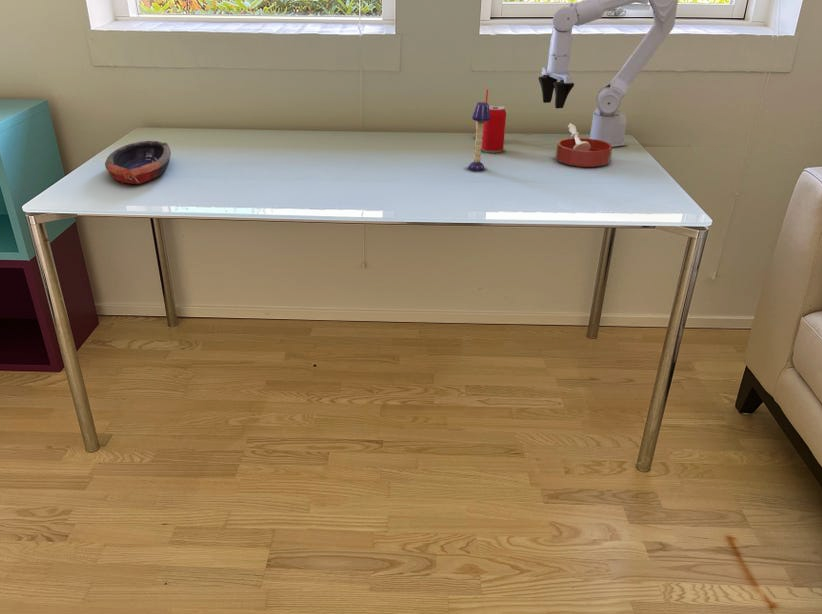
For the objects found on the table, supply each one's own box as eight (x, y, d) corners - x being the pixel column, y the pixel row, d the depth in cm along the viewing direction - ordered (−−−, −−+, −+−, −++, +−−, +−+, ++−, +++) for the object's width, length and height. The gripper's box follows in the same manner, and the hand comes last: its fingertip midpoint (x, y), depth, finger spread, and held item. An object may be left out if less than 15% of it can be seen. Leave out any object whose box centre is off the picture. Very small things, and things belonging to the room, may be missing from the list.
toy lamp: (474, 165, 193) (478, 100, 185) (489, 168, 191) (494, 102, 182) (465, 169, 190) (469, 103, 181) (480, 172, 188) (485, 105, 179)
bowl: (577, 151, 206) (579, 135, 203) (620, 162, 196) (622, 145, 194) (544, 160, 198) (546, 143, 196) (587, 171, 189) (589, 154, 186)
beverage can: (502, 148, 208) (506, 104, 202) (503, 154, 203) (507, 109, 197) (480, 147, 209) (483, 104, 203) (481, 153, 204) (484, 109, 197)
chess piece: (570, 157, 199) (559, 131, 203) (587, 155, 199) (576, 129, 204) (575, 144, 194) (563, 118, 199) (592, 141, 195) (581, 115, 200)
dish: (181, 155, 201) (179, 137, 199) (159, 189, 175) (156, 169, 172) (124, 156, 200) (121, 137, 198) (93, 191, 174) (89, 170, 171)
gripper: (534, 51, 208) (529, 100, 215) (558, 59, 196) (552, 111, 203) (556, 50, 209) (550, 99, 216) (582, 58, 197) (574, 110, 204)
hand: (552, 105), depth 210 cm, fingers open, 7 cm apart
